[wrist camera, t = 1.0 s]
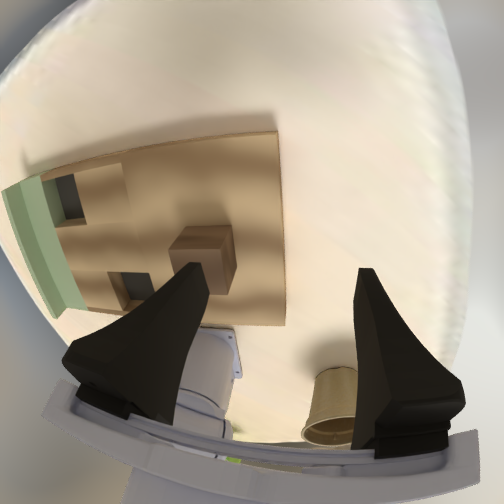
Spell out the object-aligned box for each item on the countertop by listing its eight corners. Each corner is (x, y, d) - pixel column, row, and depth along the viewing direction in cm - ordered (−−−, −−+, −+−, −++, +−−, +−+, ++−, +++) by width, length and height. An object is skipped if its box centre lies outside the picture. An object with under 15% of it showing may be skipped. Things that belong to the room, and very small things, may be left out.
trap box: (286, 309, 30) (283, 344, 26) (71, 296, 35) (52, 318, 30) (277, 131, 21) (273, 138, 17) (29, 176, 26) (1, 191, 22)
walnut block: (237, 266, 25) (227, 295, 22) (194, 266, 26) (179, 293, 22) (231, 225, 23) (220, 249, 20) (185, 226, 24) (167, 249, 20)
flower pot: (311, 355, 33) (310, 415, 26) (380, 359, 32) (390, 415, 25) (297, 394, 38) (294, 445, 30) (357, 396, 37) (361, 445, 30)
